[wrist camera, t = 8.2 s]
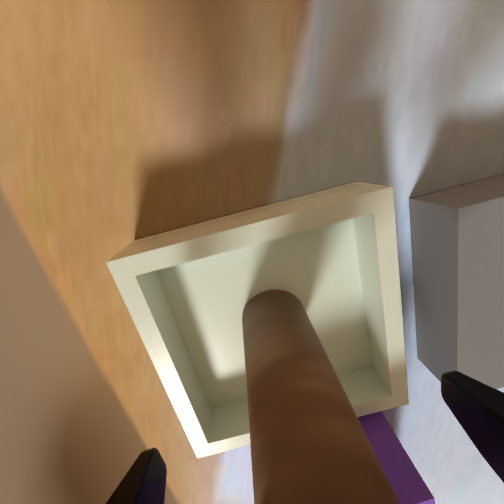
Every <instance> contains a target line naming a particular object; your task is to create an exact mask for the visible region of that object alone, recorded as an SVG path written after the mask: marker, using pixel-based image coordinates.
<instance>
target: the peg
mask: <svg viewBox="0 0 504 504" xmlns="http://www.w3.org/2000/svg"><path fill="white" fill-rule="evenodd" d="M242 327H243V341H244V356H245V370H246V385H247V400H248V414H249V429H250V444H251V458H252V473H253V488H254V502H255V504H400V503H399V501H398V499H397V497H396V495H395V493H394V491H393V489H392V487H391V485H390V483H389V481H388V479H387V477H386V474H385V472H384V470H383V468H382V466H381V464H380V462H379V460H378V458H377V456H376V454H375V452H374V450H373V448H372V446H371V444H370V442H369V440H368V438H367V436H366V434H365V432H364V430H363V428H362V426H361V423H360V421H359V419H358V417H357V415H356V413H355V411H354V409H353V407H352V405H351V403H350V401H349V399H348V397H347V395H346V393H345V391H344V389H343V387H342V385H341V383H340V381H339V379H338V377H337V374H336V372H335V370H334V368H333V366H332V364H331V362H330V360H329V358H328V356H327V354H326V352H325V350H324V348H323V346H322V344H321V342H320V340H319V338H318V336H317V334H316V332H315V330H314V328H313V326H312V323H311V321H310V319H309V317H308V315H307V313H306V311H305V309H304V307H303V305H302V303H301V302H300V300H299V299H298V298H297V297H296V296H295V295H293V294H292V293H290V292H287V291H284V290H277V289H274V290H267V291H264V292H261V293H259V294H257V295H255V296H254V297H253V298H252V299H251V300H250V301H249V302H248V303H247V304H246V306H245V308H244V310H243V314H242Z"/></svg>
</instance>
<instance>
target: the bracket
mask: <svg viewBox="0 0 504 504" xmlns="http://www.w3.org/2000/svg"><path fill="white" fill-rule="evenodd" d="M358 419H359V421H360V423H361V426H362V428H363V430H364V432H365V434H366V436H367V438H368V440H369V442H370V444H371V446H372V448H373V450H374V452H375V454H376V456H377V458H378V460H379V462H380V464H381V466H382V468H383V470H384V472H385V474H386V477H387V479H388V481H389V483H390V485H391V487H392V489H393V491H394V493H395V495H396V497H397V499H398V501H399V503H400V504H435V500H434V497H433V496H432V494H431V492H430V491H429V489H428V487H427V486H426V484H425V482H424V481H423V479H422V478H421V476H420V474H419V473H418V471H417V469H416V468H415V466H414V464H413V463H412V461H411V460H410V458H409V456H408V455H407V453H406V451H405V450H404V448H403V447H402V445H401V443H400V442H399V440H398V438H397V437H396V435H395V433H394V432H393V430H392V429H391V427H390V425H389V424H388V422H387V420H386V419H385V417H384V415H383V414H382V412H381V411H380V412H376V413H372V414H368V415H364V416H360V417H358Z"/></svg>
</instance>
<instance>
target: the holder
mask: <svg viewBox="0 0 504 504" xmlns="http://www.w3.org/2000/svg"><path fill="white" fill-rule="evenodd" d="M409 205H410V223H411V242H412V260H413V279H414V298H415V316H416V335H417V353H418V359H419V360H420V361H421V362H422V363H423V364H424V365H425V366H426V367H427V368H428V369H429V370H430V371H431V372H432V373H433V374H434V375H435V377H436V378H437V379H438V380H439V381H440V382H441V375H442V374H443V373H446V372H450V371H458V372H461V373H463V374H465V375H467V376H469V377H471V378H473V379H475V380H478V381H480V382H482V383H484V384H486V385H488V386H490V387H492V388H494V389H498V388H502V387H504V174H502V175H498V176H494V177H490V178H486V179H483V180H479V181H475V182H471V183H467V184H464V185H460V186H456V187H452V188H448V189H445V190H441V191H437V192H433V193H430V194H426V195H422V196H418V197H414V198H411V199H409Z"/></svg>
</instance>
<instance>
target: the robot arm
mask: <svg viewBox="0 0 504 504" xmlns="http://www.w3.org/2000/svg"><path fill="white" fill-rule="evenodd" d="M441 393H442V397H443V399H444V401H445V403H446V404H447V405H448V407H449V408H450V410H451V411H452V413H453V414H454V416H455V417H456V419H457V420H458V421H459V423H460V424H461V426H462V427H463V429H464V430H465V432H466V433H467V435H468V436H469V437H470V439H471V440H472V442H473V443H474V445H475V446H476V448H477V449H478V450H479V452H480V453H481V455H482V456H483V457H484V459H485V460H486V461H487V462H488V464H489V465H490V466H491V467H492V469H493V470H494V471H495V472H496V474H497V475H498V476H499V477H500V479H501V480H502V481H503V482H504V393H503V392H501V391H499V390H496V389H494V388H492V387H490V386H488V385H486V384H484V383H482V382H480V381H478V380H475V379H473V378H471V377H469V376H467V375H465V374H463V373H461V372H458V371H450V372H446V373H443V374H442V375H441ZM166 475H167V469H166V465H165V462H164V460H163V459H162V457H161V455H160V453H159V451H158V449H156V448H151V449H147V450H144V451H143V452H142V453H141V454H140V455H139V456H138V458H137V459H136V461H135V462H134V464H133V465H132V466H131V468H130V470H129V471H128V472H127V474H126V475H125V477H124V478H123V480H122V481H121V482H120V484H119V485H118V487H117V488H116V490H115V491H114V492H113V494H112V496H111V497H110V498H109V500H108V501H107V503H106V504H164V501H165V488H166Z"/></svg>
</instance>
